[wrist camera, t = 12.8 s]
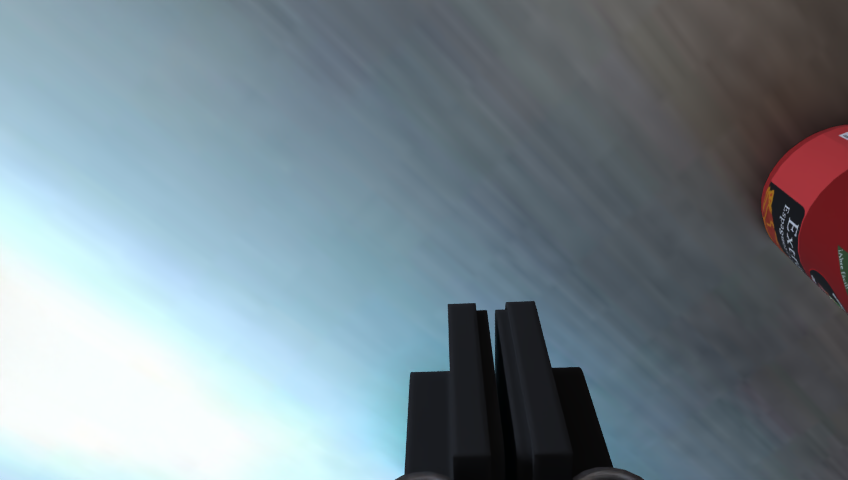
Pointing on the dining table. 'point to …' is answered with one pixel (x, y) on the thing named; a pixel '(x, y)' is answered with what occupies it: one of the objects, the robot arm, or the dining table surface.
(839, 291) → the canned food
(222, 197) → the dining table surface
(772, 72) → the dining table surface
